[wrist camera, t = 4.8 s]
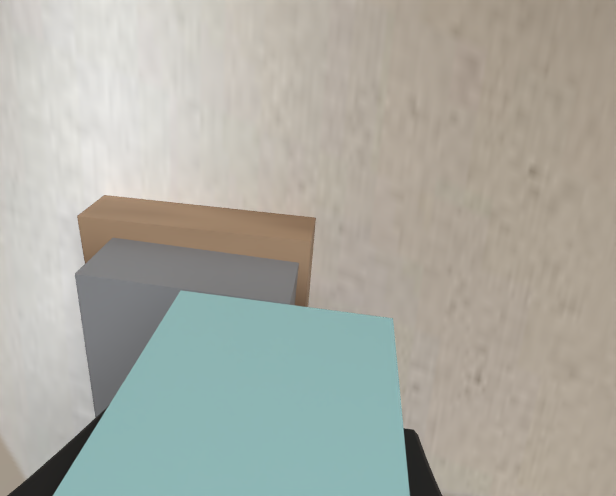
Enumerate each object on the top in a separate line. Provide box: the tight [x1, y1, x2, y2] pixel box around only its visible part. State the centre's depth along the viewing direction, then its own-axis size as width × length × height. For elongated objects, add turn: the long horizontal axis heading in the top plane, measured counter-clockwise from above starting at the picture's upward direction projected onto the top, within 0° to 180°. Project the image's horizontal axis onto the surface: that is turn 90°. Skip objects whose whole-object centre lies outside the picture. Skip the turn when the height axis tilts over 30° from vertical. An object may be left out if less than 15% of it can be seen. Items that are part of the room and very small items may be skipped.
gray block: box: [75, 238, 299, 417], centre depth 17 cm, size 6×6×2 cm
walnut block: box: [77, 195, 316, 307], centre depth 19 cm, size 8×8×2 cm
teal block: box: [53, 290, 410, 496], centre depth 9 cm, size 4×4×5 cm
